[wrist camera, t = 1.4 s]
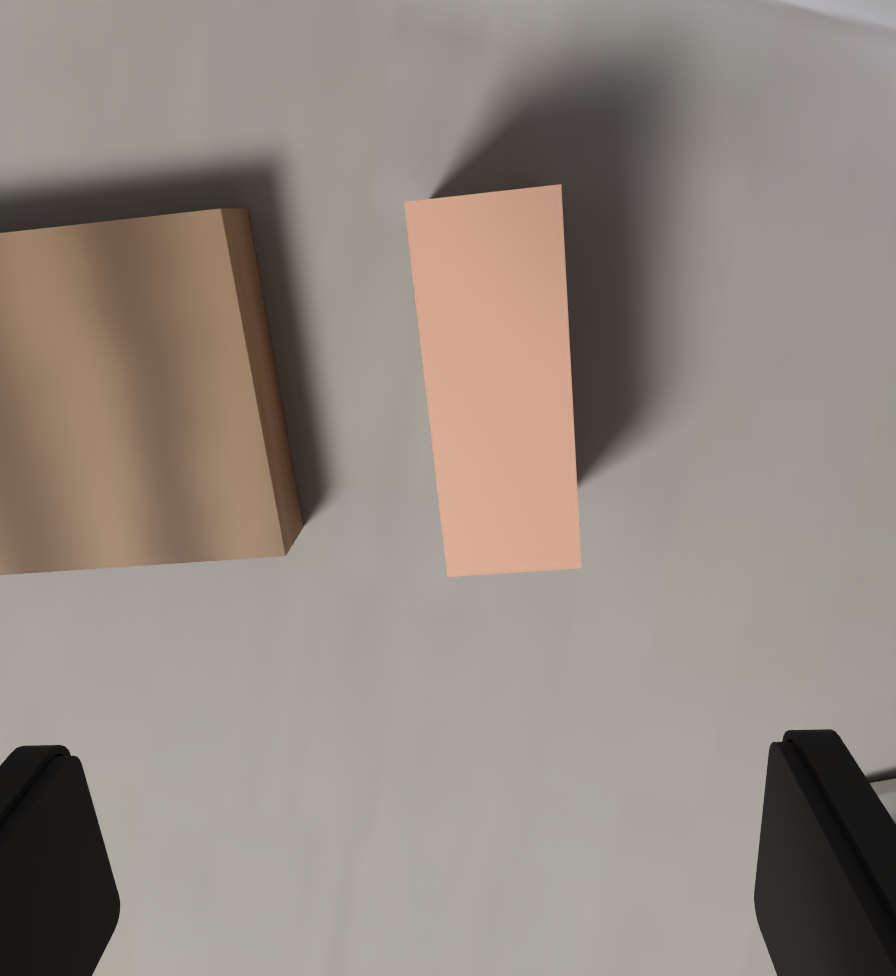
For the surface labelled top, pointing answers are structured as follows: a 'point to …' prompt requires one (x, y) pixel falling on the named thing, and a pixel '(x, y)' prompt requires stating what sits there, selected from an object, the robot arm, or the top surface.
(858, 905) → the robot arm
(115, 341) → the walnut stand
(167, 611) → the top surface
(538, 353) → the terracotta block
